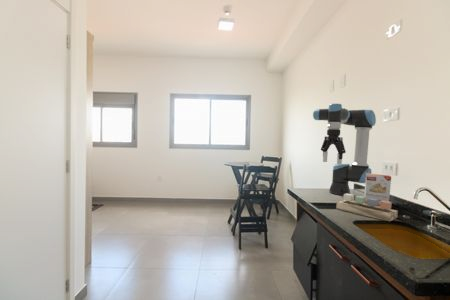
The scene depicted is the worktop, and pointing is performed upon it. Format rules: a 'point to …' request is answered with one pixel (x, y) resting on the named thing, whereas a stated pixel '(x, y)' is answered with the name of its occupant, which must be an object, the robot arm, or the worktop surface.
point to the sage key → (360, 200)
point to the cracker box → (377, 187)
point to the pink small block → (385, 205)
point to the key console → (367, 210)
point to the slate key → (372, 202)
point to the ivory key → (348, 197)
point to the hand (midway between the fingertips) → (331, 163)
